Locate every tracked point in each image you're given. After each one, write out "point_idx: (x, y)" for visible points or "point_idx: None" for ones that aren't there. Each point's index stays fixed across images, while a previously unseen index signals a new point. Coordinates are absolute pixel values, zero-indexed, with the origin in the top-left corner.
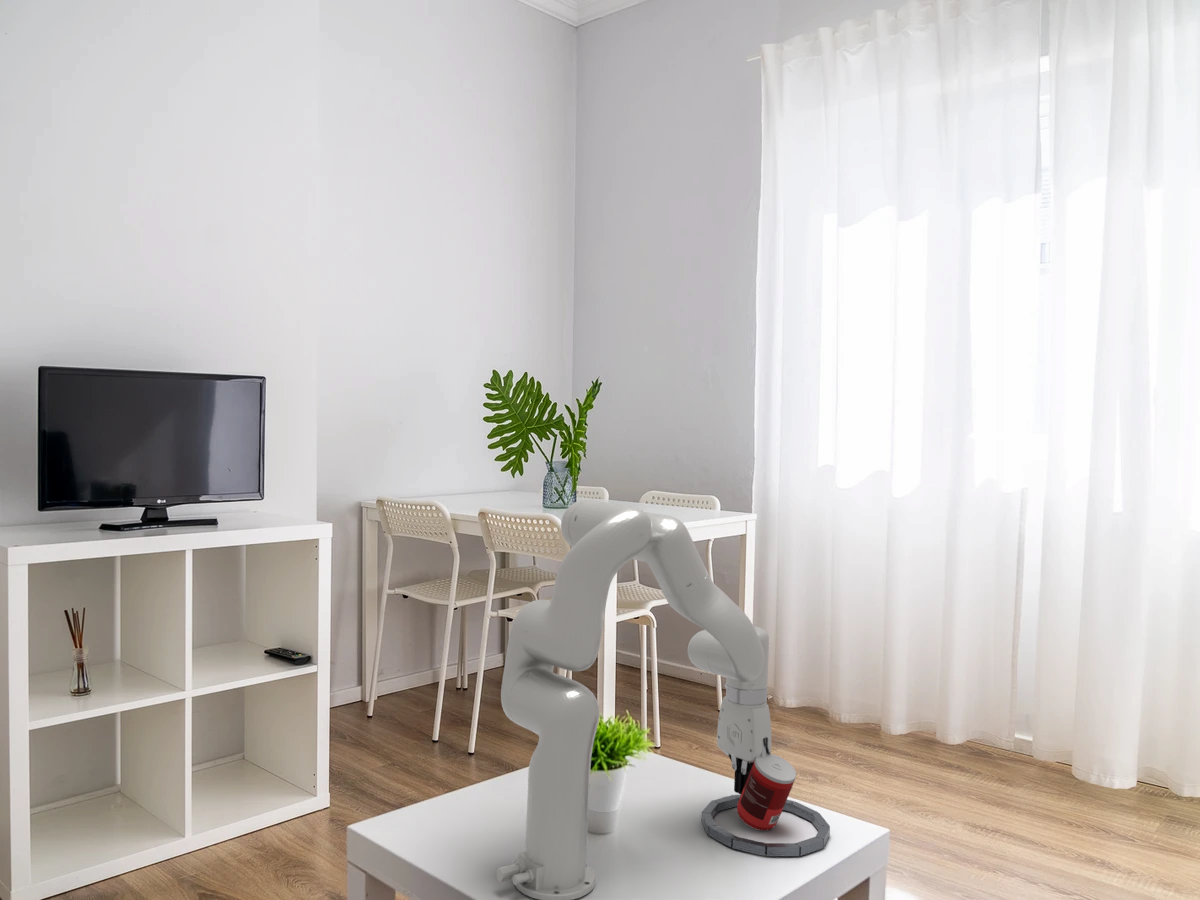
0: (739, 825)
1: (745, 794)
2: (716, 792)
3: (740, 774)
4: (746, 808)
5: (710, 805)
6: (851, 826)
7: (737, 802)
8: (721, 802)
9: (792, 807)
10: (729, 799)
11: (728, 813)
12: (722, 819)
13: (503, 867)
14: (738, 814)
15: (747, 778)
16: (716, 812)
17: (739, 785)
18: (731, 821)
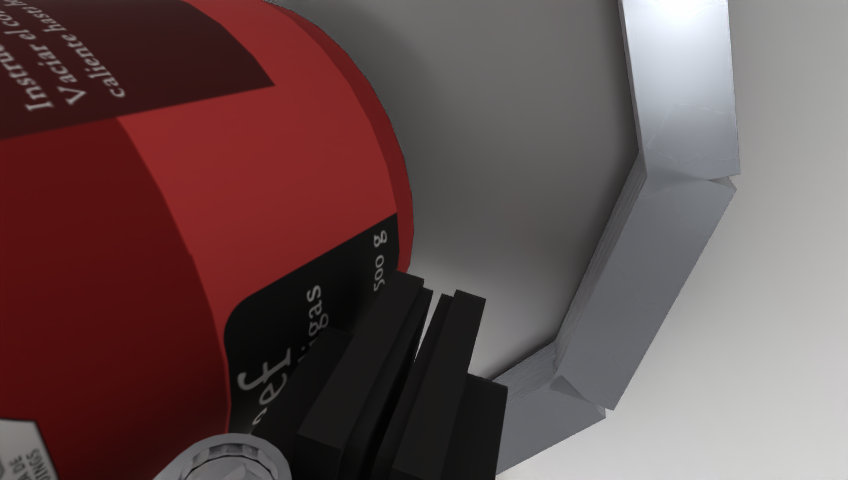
0: (372, 54)
1: (91, 59)
2: (818, 471)
3: (306, 424)
4: (156, 2)
5: (695, 68)
6: None
7: (554, 352)
8: (629, 216)
9: None
10: (596, 314)
11: (558, 199)
12: (539, 56)
13: None
14: (335, 44)
15: (266, 426)
16: (633, 110)
17: (379, 321)
18: (459, 77)
